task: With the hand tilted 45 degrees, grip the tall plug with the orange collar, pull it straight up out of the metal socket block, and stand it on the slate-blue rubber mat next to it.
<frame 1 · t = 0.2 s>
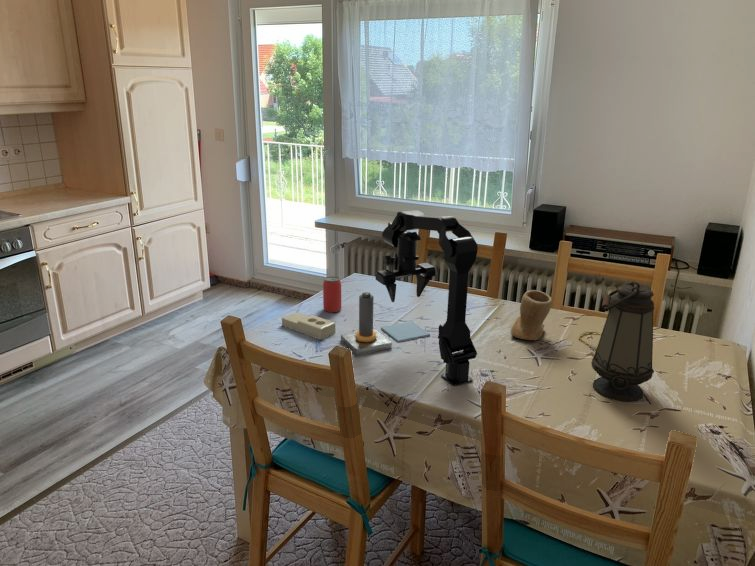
hand: (405, 299, 171), 14 cm above the table, tool pointing down, fingers open, 9 cm apart
plug: (366, 319, 170), in the socket block
beer can: (332, 310, 200), on the table
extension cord: (597, 345, 176), on the table
socket block: (365, 344, 172), on the table
lantern: (618, 390, 148), on the table
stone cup: (529, 334, 182), on the table
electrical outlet: (308, 330, 183), on the table
mat: (405, 332, 182), on the table
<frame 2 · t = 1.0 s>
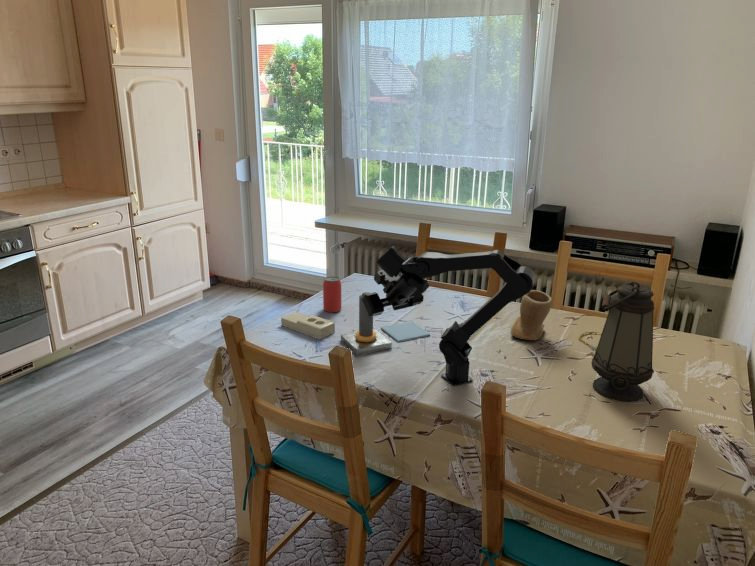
hand: (381, 312, 163), 13 cm above the table, tool tilted 45°, fingers open, 9 cm apart
nothing on the table moved.
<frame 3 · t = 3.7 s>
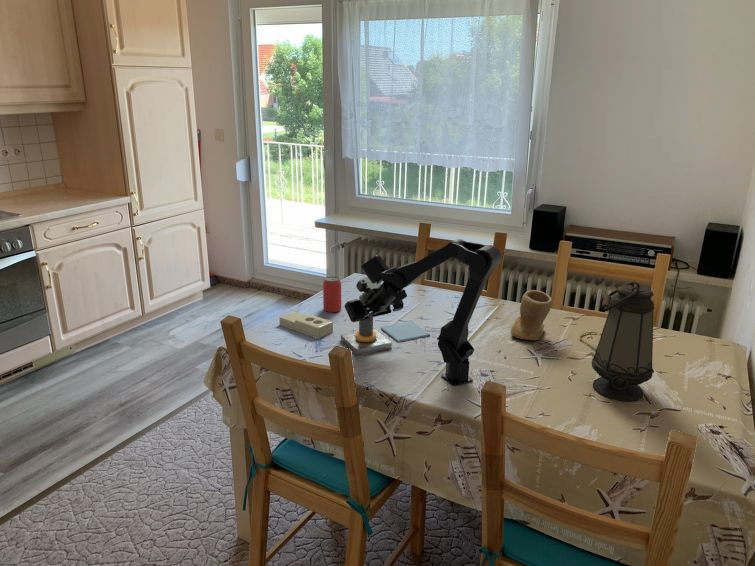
hand: (363, 317, 171), 9 cm above the table, tool tilted 45°, fingers closed on plug, 4 cm apart
plug: (366, 319, 170), in the socket block, touching gripper
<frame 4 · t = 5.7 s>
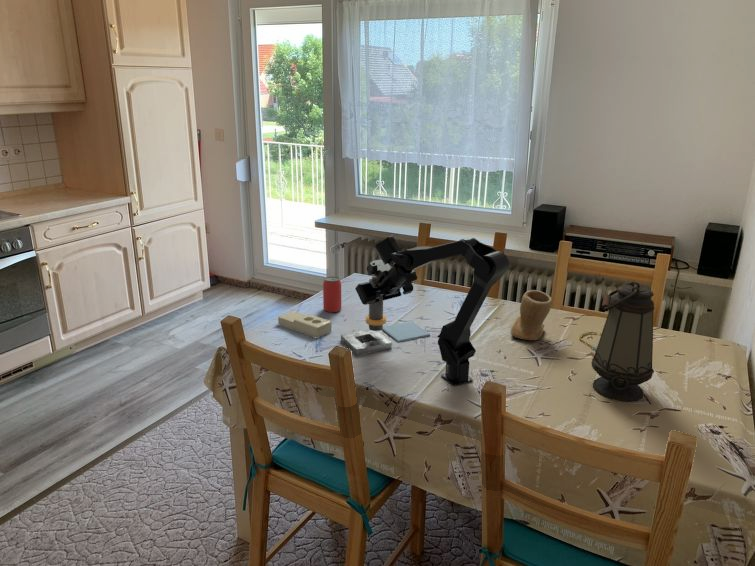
hand: (373, 301, 171), 13 cm above the table, tool tilted 45°, fingers closed on plug, 4 cm apart
plug: (376, 303, 170), point 13 cm above the table, touching gripper
when the fingers open (10 cm above the table, at t = 7.7 s): plug stays where it is, resting on mat.
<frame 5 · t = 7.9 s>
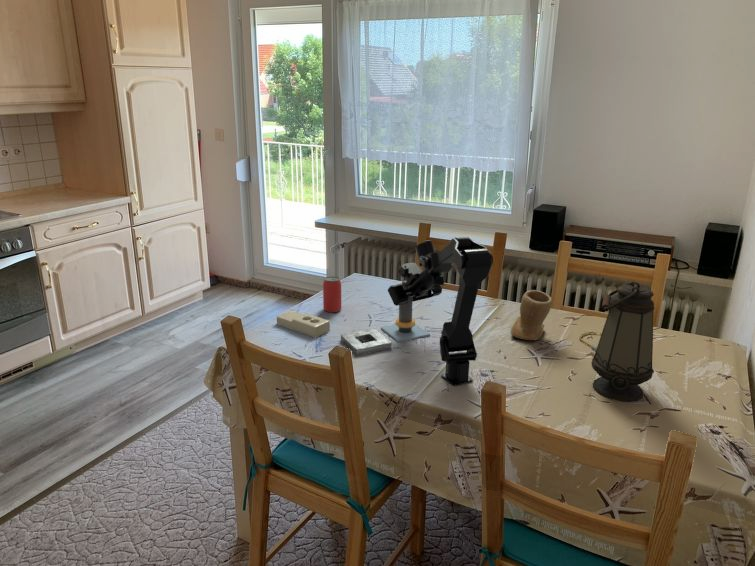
hand: (403, 302, 180), 10 cm above the table, tool tilted 45°, fingers open, 6 cm apart
plug: (405, 306, 179), on the mat, point 9 cm above the table
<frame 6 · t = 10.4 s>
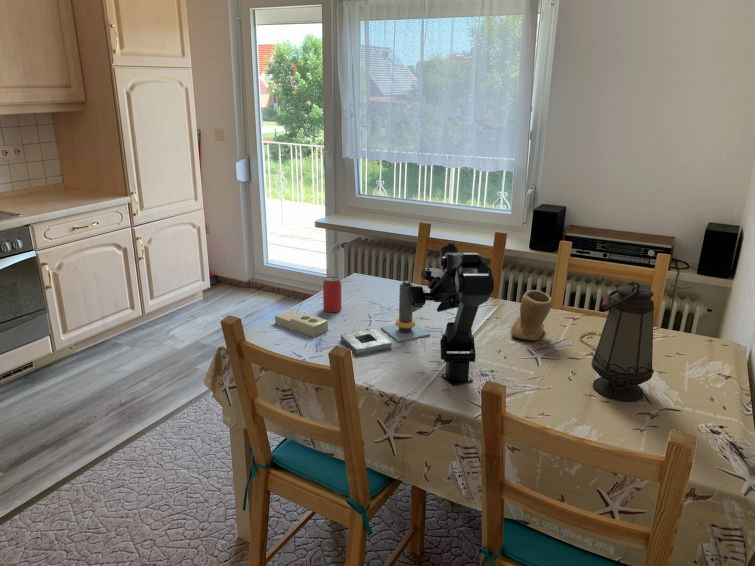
hand: (425, 310, 173), 10 cm above the table, tool tilted 40°, fingers open, 9 cm apart
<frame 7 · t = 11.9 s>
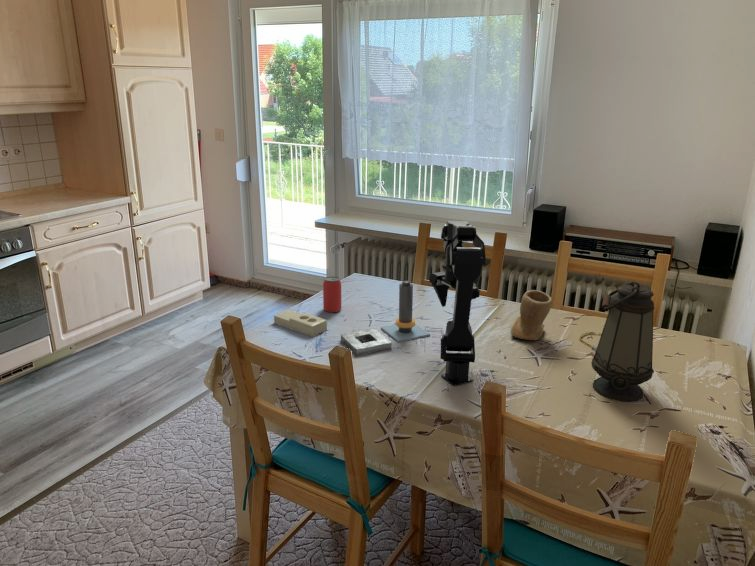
hand: (452, 311, 168), 12 cm above the table, tool pointing down, fingers open, 9 cm apart
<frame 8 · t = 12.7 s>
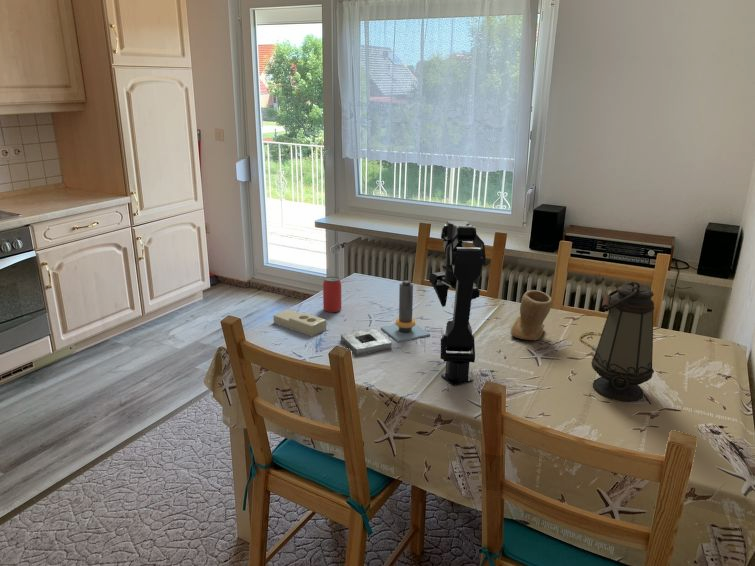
hand: (452, 311, 168), 12 cm above the table, tool pointing down, fingers open, 9 cm apart
at the end: plug touching mat; plug inside the target area on the mat (0.1 cm from its centre), point 9.1 cm above the mat's base; plug tilted 1° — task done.
